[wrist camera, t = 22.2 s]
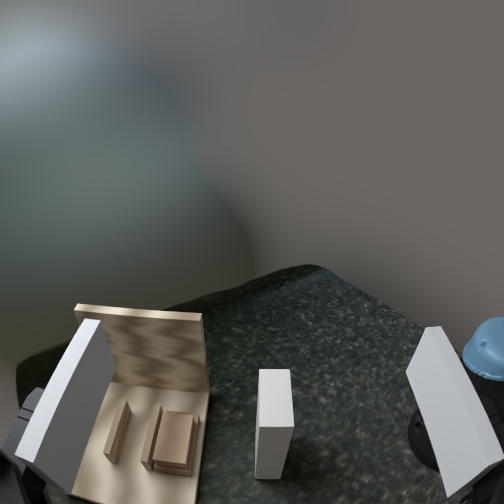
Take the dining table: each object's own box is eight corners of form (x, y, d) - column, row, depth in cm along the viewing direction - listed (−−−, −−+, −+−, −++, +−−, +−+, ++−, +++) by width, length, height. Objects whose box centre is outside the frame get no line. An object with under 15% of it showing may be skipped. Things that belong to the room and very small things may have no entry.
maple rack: (210, 391, 51) (201, 313, 43) (193, 523, 30) (167, 484, 22) (107, 379, 51) (78, 303, 43) (66, 493, 30) (2, 435, 22)
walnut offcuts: (200, 420, 44) (197, 406, 42) (192, 477, 36) (188, 466, 34) (168, 417, 44) (163, 403, 42) (156, 472, 36) (150, 461, 34)
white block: (278, 433, 44) (289, 369, 36) (280, 478, 37) (294, 426, 29) (255, 433, 44) (259, 369, 36) (254, 478, 37) (259, 426, 29)
